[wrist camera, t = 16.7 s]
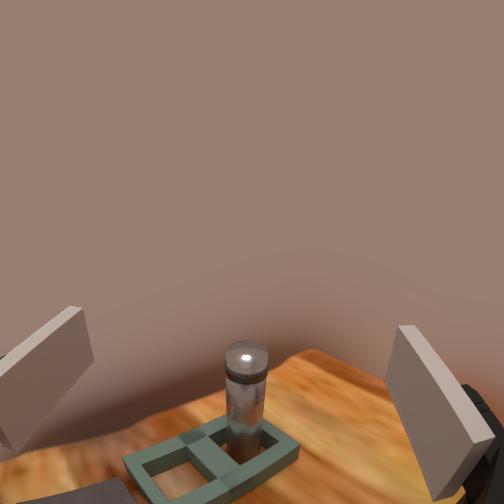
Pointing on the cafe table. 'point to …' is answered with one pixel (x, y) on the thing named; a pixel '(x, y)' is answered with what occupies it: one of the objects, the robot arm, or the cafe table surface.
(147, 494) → the frame
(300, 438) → the cafe table surface
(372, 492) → the cafe table surface
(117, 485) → the socket block
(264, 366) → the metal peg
